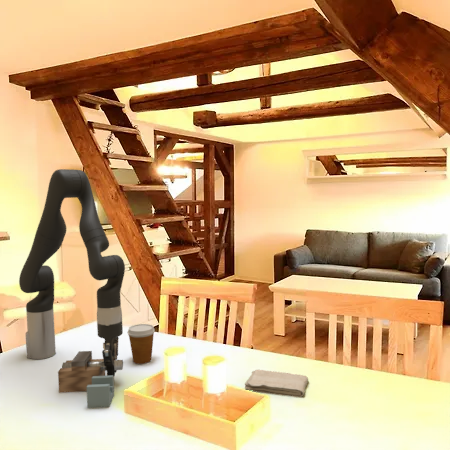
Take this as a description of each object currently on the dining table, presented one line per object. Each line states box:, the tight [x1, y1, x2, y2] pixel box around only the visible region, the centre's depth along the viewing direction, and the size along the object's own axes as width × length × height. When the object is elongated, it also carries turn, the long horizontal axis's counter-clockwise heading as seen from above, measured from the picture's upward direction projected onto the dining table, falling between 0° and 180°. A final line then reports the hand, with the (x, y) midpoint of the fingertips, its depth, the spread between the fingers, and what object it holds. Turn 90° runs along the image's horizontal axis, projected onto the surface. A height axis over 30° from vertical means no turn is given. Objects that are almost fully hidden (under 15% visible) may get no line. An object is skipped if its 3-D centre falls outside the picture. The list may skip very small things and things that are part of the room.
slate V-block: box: [86, 374, 115, 409], centre depth 128 cm, size 6×7×6 cm
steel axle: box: [61, 359, 124, 372], centre depth 138 cm, size 18×3×3 cm, turn 94°
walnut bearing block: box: [57, 350, 106, 394], centre depth 138 cm, size 12×9×9 cm
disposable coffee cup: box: [127, 323, 156, 365], centre depth 158 cm, size 10×10×12 cm
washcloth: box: [244, 369, 309, 398], centre depth 135 cm, size 12×18×3 cm, turn 72°
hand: (112, 374), depth 139 cm, fingers closed on steel axle, 3 cm apart
